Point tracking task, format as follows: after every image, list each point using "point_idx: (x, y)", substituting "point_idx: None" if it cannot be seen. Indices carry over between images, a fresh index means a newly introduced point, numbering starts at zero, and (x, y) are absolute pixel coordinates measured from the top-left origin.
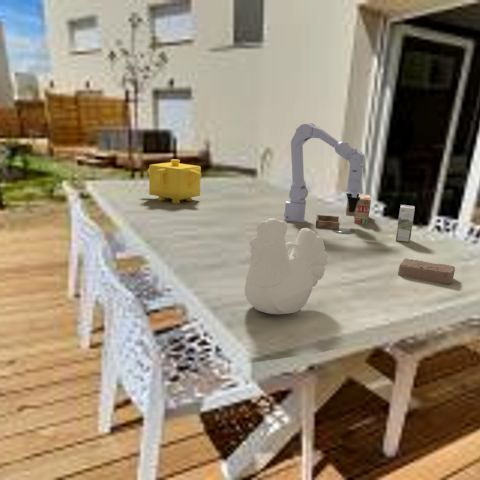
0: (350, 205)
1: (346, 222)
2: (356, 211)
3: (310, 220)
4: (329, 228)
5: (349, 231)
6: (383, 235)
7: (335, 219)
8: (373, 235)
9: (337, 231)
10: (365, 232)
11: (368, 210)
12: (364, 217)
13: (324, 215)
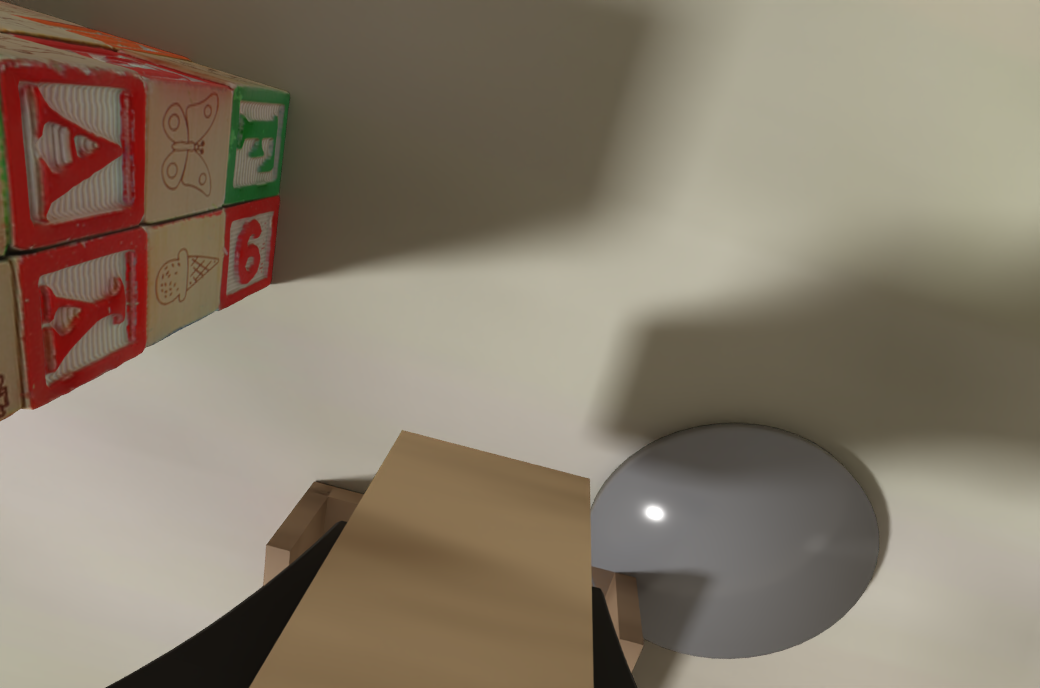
0: None
1: (199, 357)
2: (584, 554)
3: None
4: None
5: (750, 500)
6: (933, 27)
7: None
8: (908, 209)
9: (745, 621)
10: (725, 274)
11: (99, 96)
12: (212, 163)
13: None
